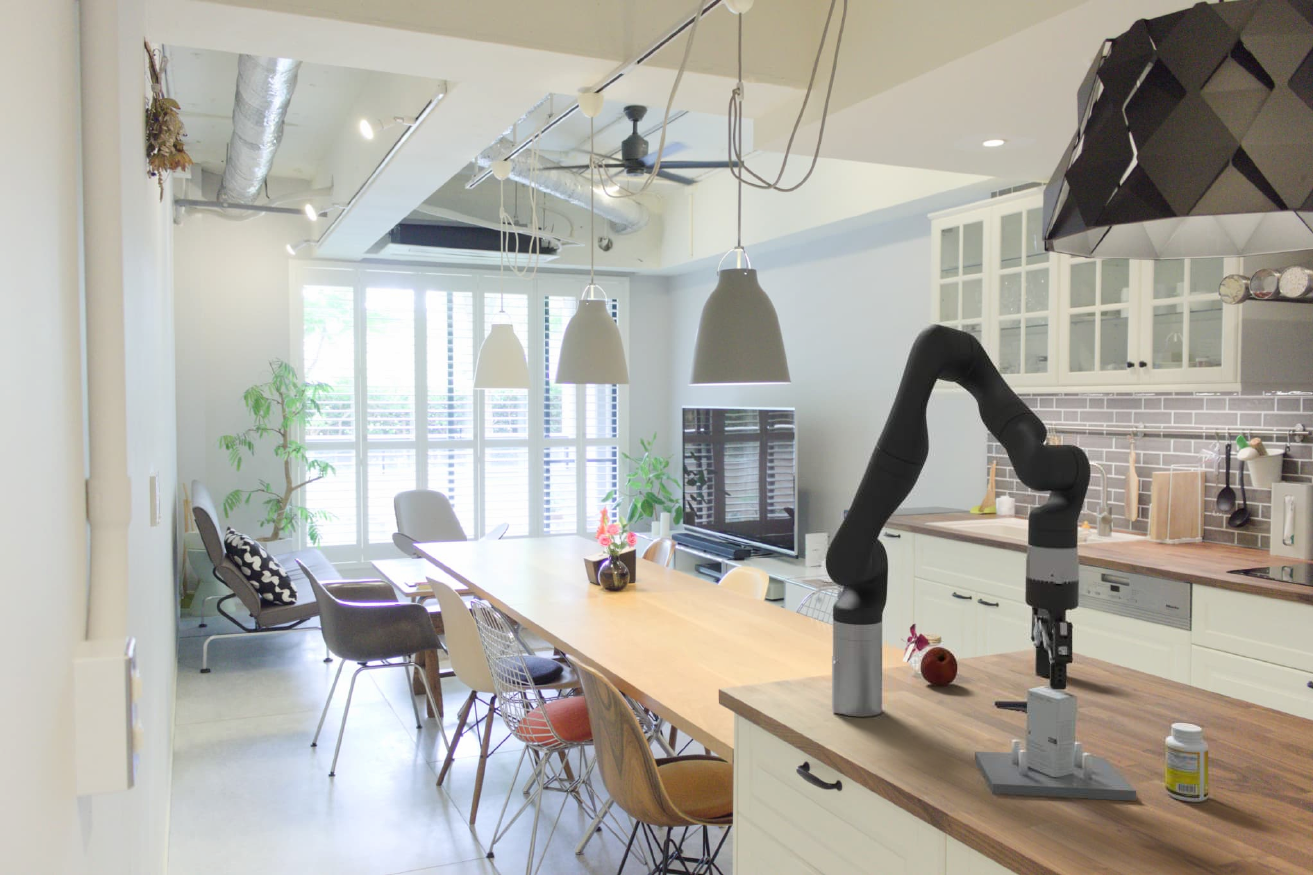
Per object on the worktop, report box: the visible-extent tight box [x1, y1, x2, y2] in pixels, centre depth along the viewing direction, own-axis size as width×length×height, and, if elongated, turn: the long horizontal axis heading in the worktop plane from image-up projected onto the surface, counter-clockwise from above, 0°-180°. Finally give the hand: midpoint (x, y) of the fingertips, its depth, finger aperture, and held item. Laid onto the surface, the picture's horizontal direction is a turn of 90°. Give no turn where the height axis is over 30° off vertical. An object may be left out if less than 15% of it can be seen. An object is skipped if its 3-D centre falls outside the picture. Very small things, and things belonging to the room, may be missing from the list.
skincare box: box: [1025, 685, 1078, 777], centre depth 148 cm, size 6×4×12 cm
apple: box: [919, 646, 959, 687], centre depth 201 cm, size 7×8×8 cm
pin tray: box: [974, 738, 1137, 802], centre depth 148 cm, size 20×14×5 cm
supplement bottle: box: [1164, 722, 1209, 803], centre depth 142 cm, size 6×6×10 cm
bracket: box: [994, 700, 1027, 714], centre depth 179 cm, size 14×15×3 cm
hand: (1050, 680), depth 148 cm, fingers open, 8 cm apart
